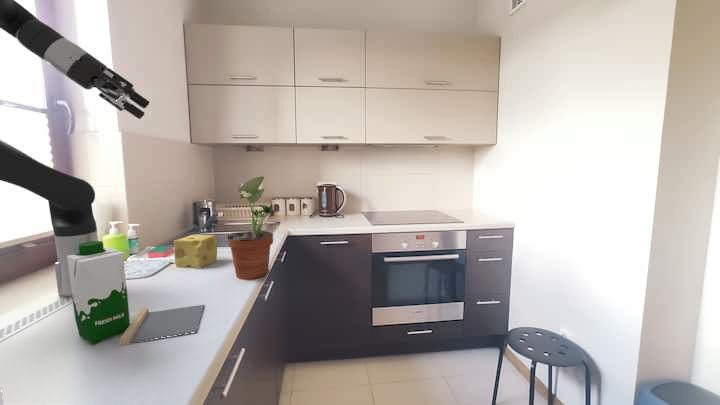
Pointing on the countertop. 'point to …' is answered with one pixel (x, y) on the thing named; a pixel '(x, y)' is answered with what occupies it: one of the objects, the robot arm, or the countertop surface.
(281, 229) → the countertop surface
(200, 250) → the cheese
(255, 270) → the potted plant
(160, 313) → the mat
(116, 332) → the white and green box
